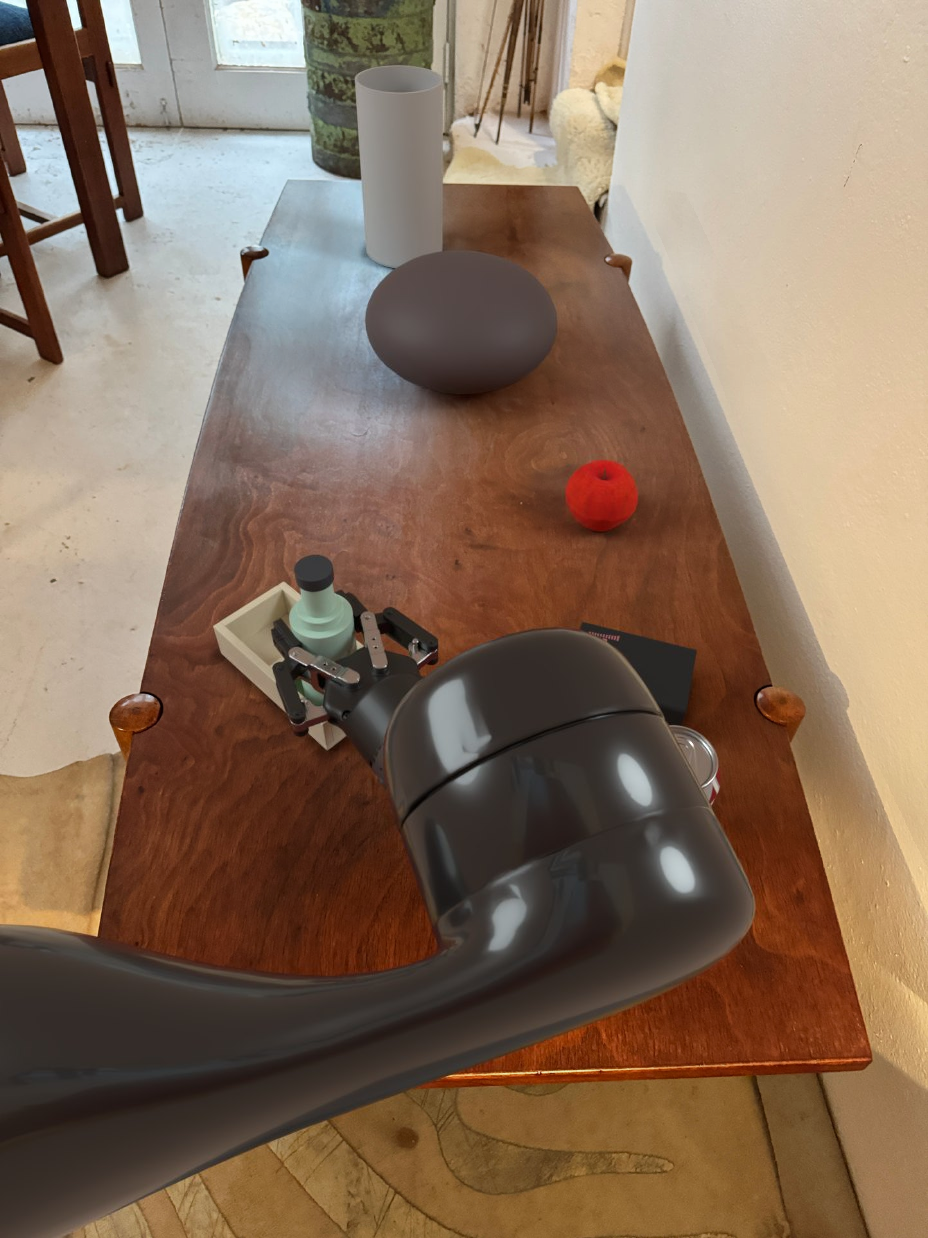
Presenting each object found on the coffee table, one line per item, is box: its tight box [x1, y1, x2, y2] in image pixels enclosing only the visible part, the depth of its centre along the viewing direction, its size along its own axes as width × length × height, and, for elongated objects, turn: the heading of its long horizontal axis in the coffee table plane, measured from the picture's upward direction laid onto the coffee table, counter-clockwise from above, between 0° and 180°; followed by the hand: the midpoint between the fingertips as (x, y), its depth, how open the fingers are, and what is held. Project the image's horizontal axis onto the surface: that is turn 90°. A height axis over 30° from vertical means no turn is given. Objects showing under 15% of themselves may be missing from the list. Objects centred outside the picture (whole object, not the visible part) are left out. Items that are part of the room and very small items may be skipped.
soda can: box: [669, 725, 722, 807], centre depth 65 cm, size 7×7×12 cm
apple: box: [565, 459, 639, 533], centre depth 93 cm, size 8×8×7 cm
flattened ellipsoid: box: [364, 249, 558, 395], centre depth 110 cm, size 25×25×15 cm
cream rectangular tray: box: [212, 581, 365, 751], centre depth 78 cm, size 8×16×4 cm, turn 46°
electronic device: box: [579, 621, 698, 726], centre depth 77 cm, size 7×11×5 cm
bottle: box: [289, 554, 357, 706], centre depth 71 cm, size 5×5×15 cm
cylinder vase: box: [354, 64, 444, 269], centre depth 129 cm, size 12×12×25 cm
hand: (308, 612), depth 72 cm, fingers closed on bottle, 5 cm apart
